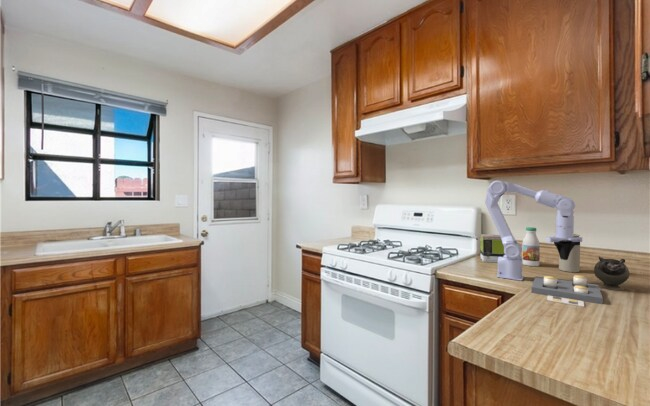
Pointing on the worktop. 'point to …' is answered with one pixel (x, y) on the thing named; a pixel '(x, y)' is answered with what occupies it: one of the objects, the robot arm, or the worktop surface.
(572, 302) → the card
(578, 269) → the travel mug
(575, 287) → the near-right button
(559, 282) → the button board
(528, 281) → the worktop surface
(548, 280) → the near-left button
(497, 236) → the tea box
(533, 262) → the milk bottle
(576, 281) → the far-right button
